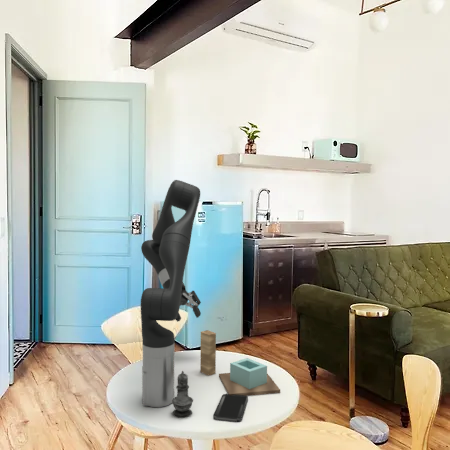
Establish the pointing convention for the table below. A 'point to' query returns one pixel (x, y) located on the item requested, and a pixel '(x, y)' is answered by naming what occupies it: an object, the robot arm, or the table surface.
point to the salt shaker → (182, 398)
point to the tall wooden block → (208, 352)
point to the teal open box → (248, 373)
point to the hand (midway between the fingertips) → (189, 318)
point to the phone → (231, 408)
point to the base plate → (238, 389)
